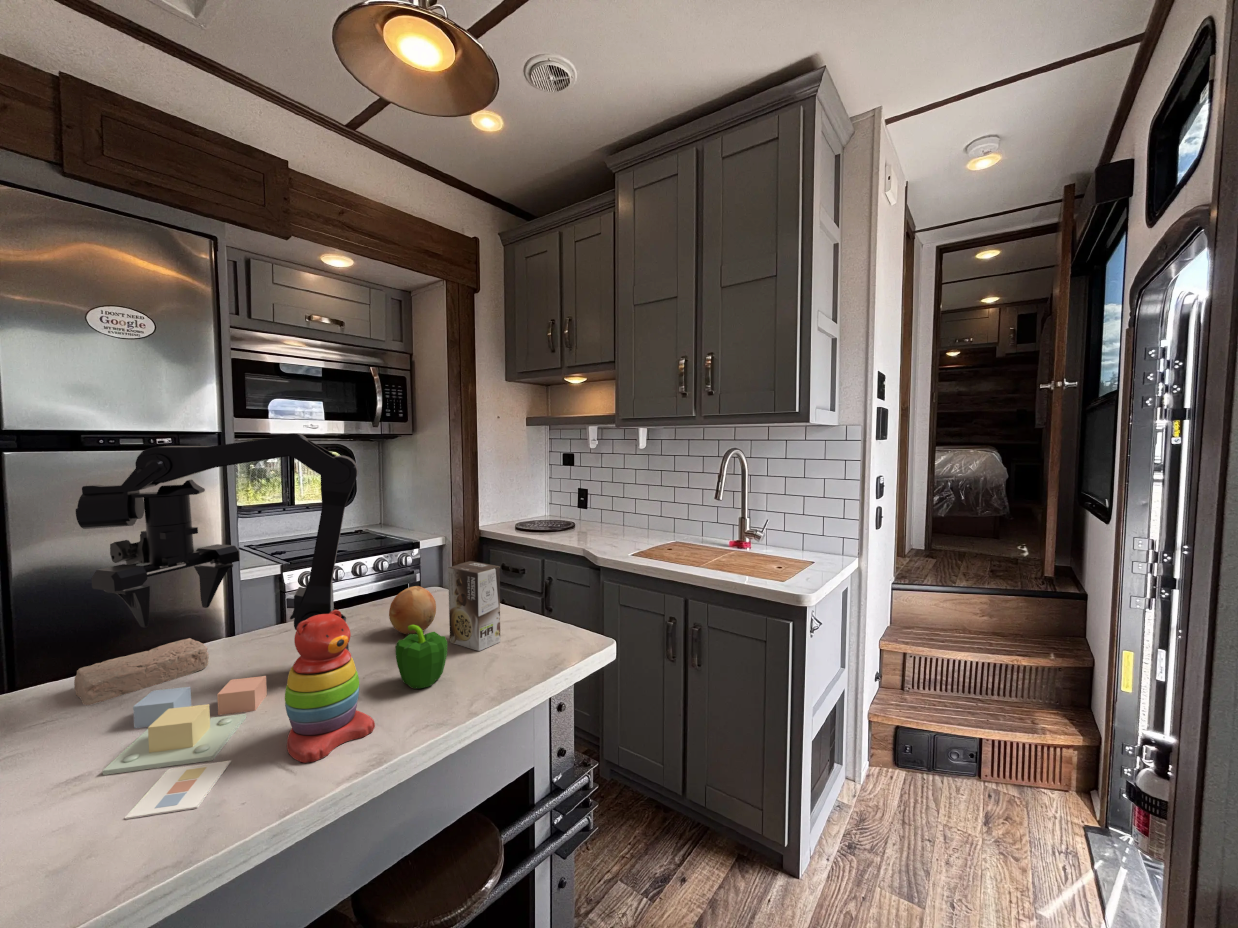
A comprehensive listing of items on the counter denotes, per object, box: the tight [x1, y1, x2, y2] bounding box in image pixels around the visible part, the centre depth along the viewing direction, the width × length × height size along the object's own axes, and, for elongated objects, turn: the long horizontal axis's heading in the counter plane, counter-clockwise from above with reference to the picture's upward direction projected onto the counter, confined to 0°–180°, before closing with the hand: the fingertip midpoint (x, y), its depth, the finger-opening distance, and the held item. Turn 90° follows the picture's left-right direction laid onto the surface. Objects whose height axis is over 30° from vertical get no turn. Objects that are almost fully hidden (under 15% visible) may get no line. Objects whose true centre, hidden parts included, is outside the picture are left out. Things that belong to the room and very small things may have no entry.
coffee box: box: [447, 560, 501, 652], centre depth 111 cm, size 9×6×16 cm
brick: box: [73, 637, 210, 706], centre depth 93 cm, size 17×8×5 cm, turn 146°
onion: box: [388, 585, 437, 635], centre depth 116 cm, size 10×10×10 cm
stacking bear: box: [284, 609, 376, 764], centre depth 76 cm, size 11×10×18 cm
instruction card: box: [124, 760, 232, 820], centre depth 65 cm, size 7×9×1 cm
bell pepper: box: [394, 625, 448, 689], centre depth 93 cm, size 8×8×10 cm
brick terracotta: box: [216, 675, 268, 716], centre depth 85 cm, size 5×5×4 cm
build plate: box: [102, 703, 247, 776], centre depth 75 cm, size 12×11×4 cm
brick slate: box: [132, 686, 192, 729], centre depth 81 cm, size 5×5×4 cm
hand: (176, 616), depth 88 cm, fingers open, 9 cm apart
